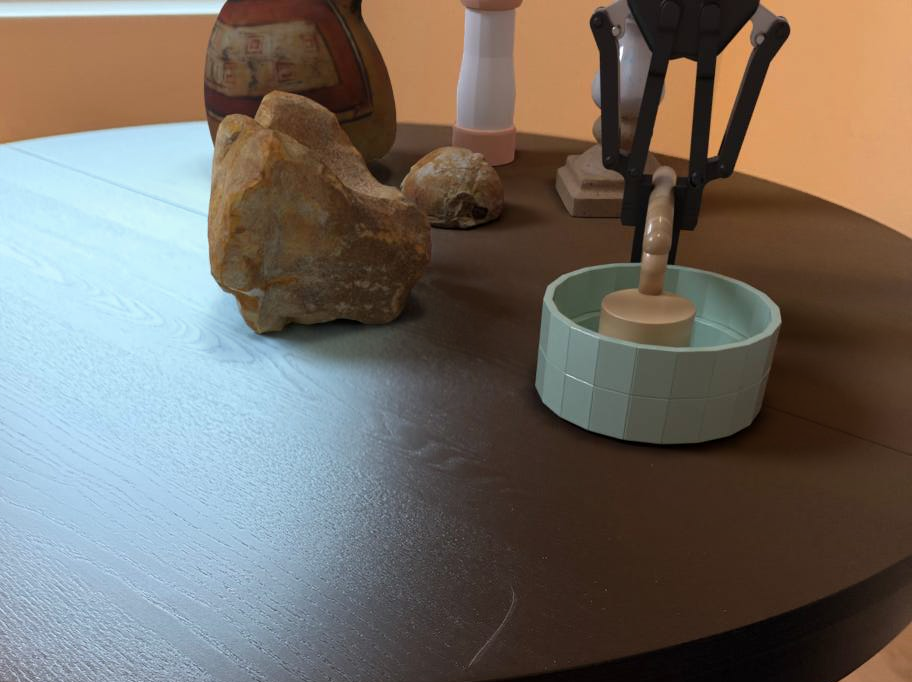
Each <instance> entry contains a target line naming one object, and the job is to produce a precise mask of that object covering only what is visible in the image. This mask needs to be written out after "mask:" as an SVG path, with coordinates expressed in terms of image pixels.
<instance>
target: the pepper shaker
mask: <svg viewBox="0 0 912 682" xmlns="http://www.w3.org/2000/svg"><path fill="white" fill-rule="evenodd" d="M523 1H524V0H460V3H461V5H462V6H464V7H465V12H464V32H463V33H464V34H463V51H462V52H463V53H462V59H461V64H460V70H459V75H458V82H457V87H456V120H455V122H454V123H453V124H452V139H451V141H452V143H451V146H452V147H461V148H465V149H468V150H471V151H472V152H474V153H480V154H482V155H483V156H484V157H485V159H486V162H487V163H488V164H489V165H490V166H491V167H495V166H503V165H507V164H510V163H512V162H513V161H514V160H515V151H516V138H517V137H516V136H517V127H516V124H515V123H514V117H515V107H516V106H515V105H516V97H517V91H516V90H517V89H516V76H515V75H516V73H515V62H514V61H515V60H514V59H515V58H514V48H515V28H516V13H517V11H516V9H517V8H520V7H521V5H522V3H523Z"/></svg>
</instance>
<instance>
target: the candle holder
mask: <svg viewBox="0 0 912 682" xmlns="http://www.w3.org/2000/svg"><path fill="white" fill-rule="evenodd" d="M616 1H618V0H614V1H613V2H612V3H611V4H613V3H614V2H616ZM619 46H620V94H621V149H623V150H625V151H627V152H629V153H631V148H632V144H633V139H634V134H635V130H636V125H637V121H638V116H639V112H640V107H641V102H642V98H643V93H644V89H645V84H646V79H647V75H648V70H649V66H650V61H651V56H652V52H651V51H650V50H649V48H648V46H647V44H646V42H645V40H644V38H643V36H642V34H641V32H640V30H639V28H638V26H637V24H636V22H635V20H634V18H633V16H632V14H630V15H628V17H627V18H626V31H625V33H624V36H623V37H622V38H621V39H619ZM666 88H667V87H666V80H665V81H664V85H663V90H662V94H661V99H660V103H659V106H660V105H661V104H662V103H663V101H664V99H665V96H666ZM590 95H591V99H592V101H593V103H594V105H595V106H596V107H597V108H598V109H599V110H601V97H600V66H599V67H598V69H597V71H596V72H595V74H594V76H593V78H592V81H591V85H590ZM591 132H592V136H593V137H594V139H595V141H596V142H597V143H596V144H594V145H593V146H591V147H590V148H588V149H587V150H585V151H584V152H583V153H582V154H581V153H580V154H569V155H568V156H567V157H566V161H565V165H564V166H560V167H558V168H557V170H556V178H555V190H556V192H557V193H558V196H559V197H560V199H561V201H562V203H563V205H564V207H565V208H566V211H567V212H568V213H569V215H570V216H571V217H577V218H579V217H580V218H581V217H583V218H620V217H621V210H622V202H623V194H624V187H625V181H624V178H623V176H622V175H621V174H619V173H618V172H615V171H613V170H607V169H606V168H604V166H603V164H602V137H601V114H600V115H599V116H598V117H597V118H596V120H595V121H594V123H593V125H592V131H591ZM653 135H654V133H653V134H652V137H653ZM662 166H663V165H662V164H660V162H659V161H658V159H657V158H656V156H655V155H654V154H653V153H652V152H651V151H648V156H647V160H646V164H645V169H644V173H643V174H652V175H653V174H654V172H655V171H656V170H657V169H658V168H659V167H662Z"/></svg>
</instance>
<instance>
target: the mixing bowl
mask: <svg viewBox="0 0 912 682" xmlns="http://www.w3.org/2000/svg"><path fill="white" fill-rule="evenodd" d="M641 265H642V263H630V262H621V263H620V262H618V263H617V262H616V263H608V264H600V265H593V266H586V267H582V268H580V269H576V270H574V271H571V272H567V273H565V274H562V275H560V276H559V277H558V278H556V279H555V280H553V281H552V282H551V283H550V284H548V285H547V287H546V290H545V293H544V296H543V299H542V308H541V309H542V311H541V320H540V321H541V322H540V332H539V342H538V354H537V363H536V365H537V366H536V375H535V384H534V385H535V388H536V391H537V393H538V396H539V398H540V400H541V402H542V403H543V404H544V405H545V406H546V407H547V408H549V409H550V410H551V411H552V412H553V413H554V414H555V415H557V416H558V417H559V418H561V419H563V420H565V421H568V422H569V423H572V424H574V425H575V426H578V427H580V428H582V429H584V430H586V431H589V432H592V433H596V434H599V435H604V436H607V437H610V438H614V439H619V440H622V441H623V440H624V441H631V442H639V443H648V444H657V445H676V444H677V445H679V444H698V443H699V444H700V443H704V442H708V441H712V440H717V439H721V438H726V437H727V438H728V437H730V436H732V435H734V434H736V433H738V432H740V431H741V430H743V429H746V428H747V427H749V426H751V425H752V423H753V421H754V420H755V419H756V417H757V416H758V414H759V413H760V411H761V409H762V405H763V401H764V397H765V392H766V388H767V384H768V380H769V376H770V372H771V367H772V364H773V359H774V355H775V351H776V347H777V343H778V339H779V335H780V331H781V327H782V323H783V322H782V316H781V310H780V307H779V306H778V304H776V303H775V302H774V301H773V300H772V299H771V298H770V297H769V296H768V295H767V294H766V293H765V292H763V291H761V290H759V289H757V288H755V287H753V286H752V285H750V284H748V283H746V282H744V281H741V280H738V279H735V278H732V277H729V276H726V275H723V274H721V273H717V272H714V271H709V270H704V269H700V268H694V267H690V266H683V265H677V264H676V265H675V264H674V265H667V267H666V273H665V280H664V286H663V291H667V292H671V293H675V294H678V295H680V296H683V297H685V298H687V299H688V300H690V301H691V302H692V303H693V304H694V305H695V307H696V314H695V320H694V326H693V332H692V337H691V343H690V347H686V348H675V347H665V346H655V345H645V344H638V343H633V342H629V341H625V340H620V339H616V338H612V337H607V336H604V335H601V334H599V333H598V329H599V321H600V312H601V303H602V300H603V299H604V297H606V296H607V295H609V294H611V293H613V292H616V291H620V290H626V289H638V287H639V280H640V272H641Z"/></svg>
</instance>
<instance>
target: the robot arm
mask: <svg viewBox="0 0 912 682" xmlns="http://www.w3.org/2000/svg"><path fill="white" fill-rule="evenodd" d="M613 2H614V1H613ZM613 2H612V3H613ZM612 3H611V4H609V5H607V6H602V5H601V6H598V7H596V8H595V9H594V11H593V13H592V14H591V16H590V19H589V28H590V30H591V34H592V36H593V39H594V42H595V44H596V48H597V50H598V54H599V67H600V97H601V109H600V115H601V137H602V164H603V166H604V168H606V169H607V170H613V171H615V172H618V173H619V174H621V175H622V176H623V178H624V181H625V187H624V194H623V202H622V210H621V217H619V218H620V221H621V226H624V227H625V226H627V227H634V232H633V240H632V246H631V253H630V260H629V261H630V262H629V263H640V262H641V255H642V248H643V239H644V232H645V225H646V218H647V211H648V204H649V197H650V194H651V187H652V180H653V175H652V174H643V173H644V169H645V164H646V160H647V156H648V151H649V150H650V147H651V142H652V138H653V136H652V134H653V135H654V129H655V124H656V120H657V116H658V112H659V108H660V107H659V106H660V105H659V103H660V99H661V94H662V90H663V85H664V81H665V82H666V76H667V72H668V69H669V63H670V61H675V60H680V59H687V60H690V61H692V62H695V63H696V69H695V70H696V71H695V85H694V95H693V96H694V98H693V108H692V122H691V133H690V134H691V135H690V147H689V159H688V160H689V161H688V171H687V176H677V175H676V188H675V203H674V216H673V230H672V243H671V249H670V251H669V253H668V260H667V265H675V264H676V257H677V252H678V246H679V239H680V234H681V231H688V232H694V230H695V228H696V227H697V226H698V222H699V216H700V211H701V205H702V199H703V193H704V189H705V187H706V185H707V184H709V183H710V182H712V181H715V180H718V179H728V178H729V177H731V176H732V175H733V173H734V171H735V168H736V164H737V163H738V159H739V155H740V153H741V150H742V147H743V144H744V142H745V138H746V136H747V132H748V129H749V126H750V123H751V122H752V121H751V120H752V117H753V115H754V111H755V108H756V106H757V103H758V100H759V97H760V94H761V92H762V88H763V86H764V82H765V79H766V77H767V74H768V71H769V67H770V65H771V62H772V61H773V60H774V58H775V57H776V56H777V54H778V53H779V52H780V50H781V49H782V47H783V46H784V44H785V42H787V40H788V39H789V37H790V35H791V30H792V29H791V26H790V24H789V21H788V19H787V18H786V16H783V15H776V14H775V13H774V12H773V11H771V10H770V9H769V8H767V7H766V6H765V5H763V4H762V3H761V0H618V1H616V2H614V3H613V4H612ZM630 14H632V16H633V18H634V20H635V22H636V24H637V26H638V28H639V30H640V32H641V34H642V36H643V38H644V40H645V42H646V44H647V46H648V48H649V50H650V51H651V52H652V56H651V61H650V66H649V70H648V75H647V79H646V84H645V89H644V93H643V98H642V102H641V107H640V112H639V116H638V121H637V125H636V130H635V134H634V139H633V144H632V148H631V153H629V152H627V151H625V150H623V149H621V94H620V46H619V39H621V38H622V37H623V36H624V33H625V31H626V18H627V17H628V15H630ZM748 22H751V24H752V28H751V31H750V34H749V42H750V45H751V46H752V47H753V48H752V50H751V52H750V55H749V57H748V59H747V63H746V66H745V68H744V72H743V75H742V77H741V81H740V84H739V87H738V91H737V94H736V97H735V100H734V104H733V106H732V108H731V112H730V114H729V118H728V121H727V124H726V127H725V130H724V132H723V136H722V139H721V141H720V146H719V148H718V151H717V155H713V156H710V157H709V156H708V155H709V147H710V136H711V135H710V134H711V124H712V113H713V111H712V110H713V103H714V102H713V101H714V89H715V80H716V79H715V78H716V70H717V69H716V68H717V58H718V56H720V55H721V54H722V53H723V52H724V50H725V49H726V48H727V47H728V46H729V44H730V43H731V42H732V41H733V40H734V39H735V38H736V36H738V34H739V33H740V32H741V31H742V29H743V28H744V27H745V26H746V25H747V24H748ZM649 152H650V151H649Z"/></svg>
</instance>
